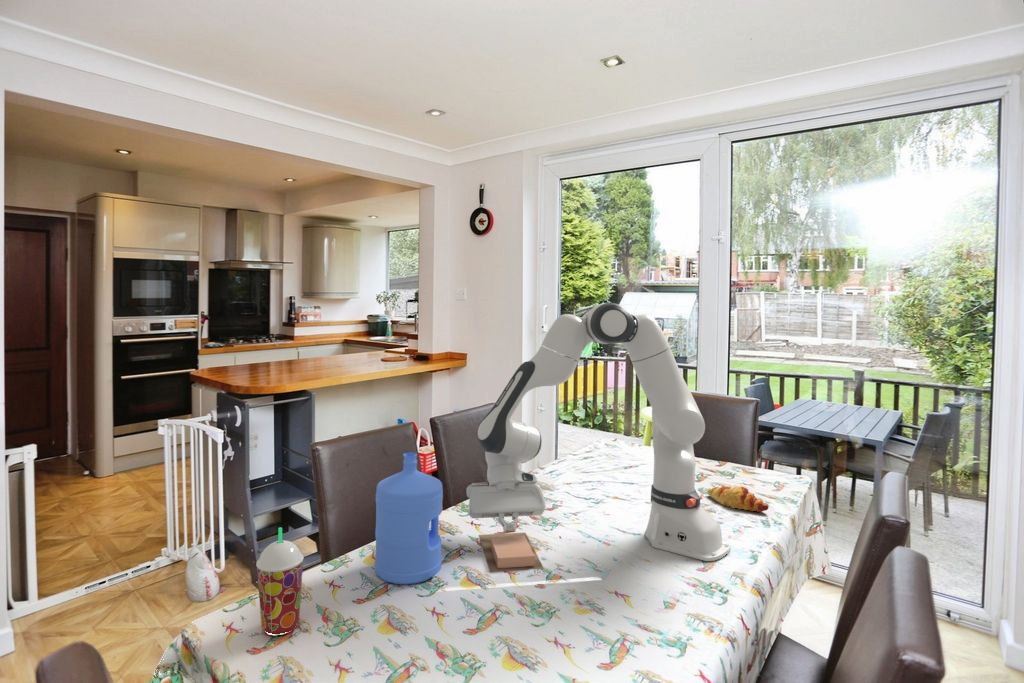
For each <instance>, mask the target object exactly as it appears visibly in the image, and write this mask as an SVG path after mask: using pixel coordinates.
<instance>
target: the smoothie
mask: <svg viewBox="0 0 1024 683" xmlns="http://www.w3.org/2000/svg"><path fill="white" fill-rule="evenodd" d="M277 531H278V532H277V534H278V539H277V541H273V542H272V543H270V544H269V545H267V546H266V547H265V548H264V549H263V551H262V552H261V554H260V556H259V558H258V560H257V561H256V566H255V567H257V568H256V571H257V572H256V573H257V585H258V598H259V609H260V610H259V612H260V624H261V625H260V626H261V628H262V629H263V631H264V630H265V631H266V632H268V633H272V634H280V633H285V632H289V631H291V630H293V629H294V628H295V626H296V627H297V625H296V624H299V621H300V617H301V616H300V612H301V601H302V597H301V596H302V586H303V585H302V581H303V567H304V554H303V553H302V552H301V551H300V548H299V547H298V546H297V545H296V544H295V543H294V542H292V541H289V540H284V539H283V528H282V527H278V530H277ZM295 629H296V628H295ZM295 629H294V630H295ZM294 630H293V631H294ZM265 631H264V632H265Z"/></svg>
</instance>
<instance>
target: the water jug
mask: <svg viewBox="0 0 1024 683" xmlns="http://www.w3.org/2000/svg"><path fill="white" fill-rule="evenodd" d="M402 456H403V461H402V464H403V468H402V470H401V471H400V472H397V473H395V474H392V475H390V476H388V477H386V478H384V479H382V480H380V481H379V482H378V483H377V485H376V487H375V488H376V492H375V505H376V506H375V510H376V511H375V534H374V538H375V561H374V570H375V573H376V575H377V576H378V578H380V579H382V581H385V582H387V583H391V584H397V585H412V584H418V583H423V582H425V581H429V580H430V579H432V578H433V577H434V576H435V575H437V573H439V572H440V571H441V570H442V569H441V568H442V564H443V560H442V559H443V557H442V537H441V535H440V534H439V518H440V516H441V514H442V512H443V499H444V492H443V491H444V490H443V482H442V481H441V480H440V479H438V478H437V477H435V476H433V475H430V474H427V473H425V472H421V471H419V470H418V469H417V465H418V461H417V456H418V454H417V453H416V452H405V453H403V455H402Z"/></svg>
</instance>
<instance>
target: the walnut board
mask: <svg viewBox="0 0 1024 683" xmlns="http://www.w3.org/2000/svg"><path fill="white" fill-rule="evenodd" d="M523 535H525V537H526V539H527V541H528V543H529V545H530V547H531V549H532V551H533V553H534V555H535V566H525V567H510V568H498V567H497V564H496V562H495V559H494V556H493V553H492V550H491V547H490V538H491V537H504V536H523ZM478 538H479V541H480V544H481V547H482V550H483V553H484V557H485V560H486V563H487V566H488V569H489V572H490V573H493V572H494V573H495V572H512V571H524V570H540V569H541V570H542V569H544V566H543V564H542V562H541V560H540V559H539V556H538V554H537V553H536V550H535V549H534V546H533V544H532V543H531V541H530V539H529V537H528V534H527V533H526V532H510V533H491V534H490V533H489V534H478Z"/></svg>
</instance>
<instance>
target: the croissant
mask: <svg viewBox="0 0 1024 683" xmlns="http://www.w3.org/2000/svg"><path fill="white" fill-rule="evenodd" d="M707 495H708V496H710V497H711V499H713V500H714V501H716V502H717V503H719V504H721V505H722V504H723V506H725V505H727V506H726V507H729V506H731V507H734V508H733V509H735V508H738V509H737V510H741V509H744V510H745V511H747V510H750V511H749V512H753V511H757V513H760V512H761V513H762V512H766V511H768V510H769V504H768V503H764V502H763V500H762V499H760V498H757V497H756V495H755V494H754V493H752V492H750V491H749V489H748V488H747V487H745V486H743V485H736V486H732V487H731V486H725V485H723V486H721V487H717V486H716V487H712V488H708V489H707ZM731 507H730V508H731Z"/></svg>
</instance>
